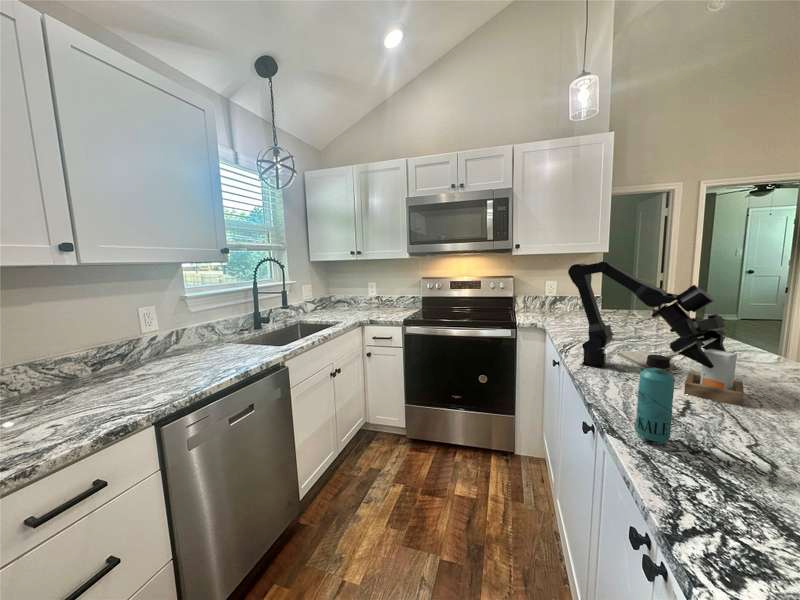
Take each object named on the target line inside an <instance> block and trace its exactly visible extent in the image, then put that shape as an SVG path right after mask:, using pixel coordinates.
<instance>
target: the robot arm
mask: <svg viewBox="0 0 800 600" xmlns="http://www.w3.org/2000/svg"><path fill="white" fill-rule="evenodd" d="M568 268H569V269H567V270H568V276H569V278H570V280H571V282H572V283H573V285H575V287H576V289H577V290H578V293H579V296H580V300H581V303H582V306H583V309H584V312H585V316H586V319H587V321H588V332H587V335H588V340H587V341H585V342H584V343H582V344H581V346H582V349H583V360H582V363H581V365H582V366H588V367H593V368H597V369H602V368H603V367H604V366H605V365H606V364H607V363H606V362H607V353H606V350H605V348H606V346H607V345H609V344H610V343H611V342H613V341H612V340H613V336H614V333H613V331H612V327H611V324H608V325H607V324H605V323H604V321H603V319H602V315H601V312H600V309H599V307H598V304H597V300H596V297H595V294H594V293H595V292H594V291H593V288H592V278H593V277H592V275H593V274H598V273H601V274H604V275H605V276H607V277H608V278H610V279H611V280H613V281H615V282H617V284H619V285H621V286H623V287H624V288H626V289H628V290H629V291H631V292H632V293H633V294H634V295H635V296H636V298H638V299H639V300H640V301H641V302H642V303H643V304H644V305H645V306H647V307H650V308H658V307H660V306H661V307H660V308H659V309H652V314H651V317H652V319H653V318H655V319H657V318H658V319H659V317H661V318H662V319H663V320H664V321H665V322H666V323H667V325H668V326H669V327H670V329H669V331H670V332H671V333H676V335H677V336H678V338H677V339H675V340H673V341H672V342H670V343H669V349H670V350H671V351H672V352H673V353H677V354H678V355H681V356H683V357H686V358H688V359H691V360H693V361H695V362H696V363H699V365H700V364H701V366H702V365H704V366H706V367H708V368H713V367H714V365H713V364H712V362H711V361H710V360H709V358H708V357H707V356H706V354H705V353H704V351H705V350H708V349H715V350H720V351H726V349H725V346H724V340H725V339H726V333H725V332H724V331H723V330H722V329H721V328H726V325H725V323H724V322H726V319H725V318H723V317H722V316H720V315H719V314H717V313H716V314H715V313H714V314H710V315H708V316H707V319H701V320H699V319H698V318H695V317H692V318H691V317H690V316H689V314H688V313H687V312H689V313H690V312H692V313H696V312H698V311H699V310H702V309H703V308H705V307H707V306H708V305H710V304H712V303H714V302H715V300H714V298H713V297H712V296H711V295H710V294H708V292H706V291H704V290H703V289H702V288H700V287H698V286H697V285H696V284H692V285H691V286H689V287H688V288H687V289H686V290H684V291H683V292H681V293H680V294H676V293H669V292H667V291H666V290H664V289H663V288H660V287H658V286H655V285H652V284H650V283H646V282H644V281H641V280H639V279H638V278H636V277H634V276H633V275H631V274H629V273H628V272H626V271H624V270H622V269H620V268H619V267H617V266H615V265H614V264H613V263H611V261H608V260H607V261H606V260H604V261H599V262H596V263H595V262H594V263H590V264H586V263H576V264H575V263H574V264H573V265H571V266H570V267H568ZM668 304H670V305H668ZM662 305H663V306H662ZM703 349H704V350H703ZM726 352H727V351H726Z"/></svg>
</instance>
